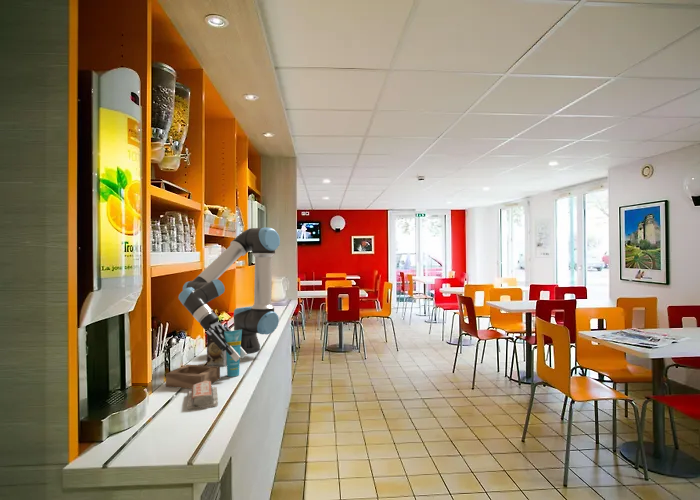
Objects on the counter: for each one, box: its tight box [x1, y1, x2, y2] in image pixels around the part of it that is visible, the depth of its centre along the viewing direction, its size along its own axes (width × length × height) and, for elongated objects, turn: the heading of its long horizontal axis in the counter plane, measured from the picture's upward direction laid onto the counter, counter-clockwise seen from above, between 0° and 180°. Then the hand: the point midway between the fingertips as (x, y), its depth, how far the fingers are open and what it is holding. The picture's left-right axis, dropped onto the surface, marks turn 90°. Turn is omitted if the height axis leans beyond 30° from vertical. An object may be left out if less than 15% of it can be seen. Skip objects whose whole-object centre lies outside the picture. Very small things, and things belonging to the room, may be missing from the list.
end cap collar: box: [165, 364, 221, 390], centre depth 167 cm, size 14×16×5 cm
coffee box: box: [206, 328, 232, 367], centre depth 195 cm, size 9×6×16 cm
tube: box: [224, 330, 242, 378], centre depth 176 cm, size 7×5×19 cm, turn 123°
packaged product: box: [186, 381, 219, 411], centre depth 149 cm, size 18×5×10 cm
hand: (241, 357), depth 175 cm, fingers closed on tube, 5 cm apart
